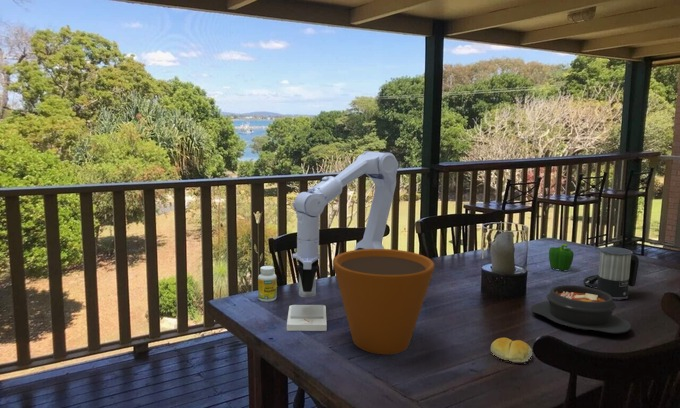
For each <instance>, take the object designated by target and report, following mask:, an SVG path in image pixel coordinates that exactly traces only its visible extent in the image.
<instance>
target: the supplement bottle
mask: <svg viewBox="0 0 680 408" xmlns="http://www.w3.org/2000/svg"><path fill="white" fill-rule="evenodd" d="M259 269H260V274H259V275H258V277H257V284H258V285H257V286H258V291H257V292H258V293H257V294H258V298H257V299H258V300H259V301H261V302H267V303H268V302H274V301H275V300H276V299H277V294H278V293H277V292H278V291H277V287H278V286H277V281H278V280H277V274H275V267H274V266H272V265H263V266H261V267H260V268H259Z"/></svg>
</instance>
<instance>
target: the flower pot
mask: <svg viewBox="0 0 680 408" xmlns="http://www.w3.org/2000/svg"><path fill="white" fill-rule="evenodd" d="M332 264H333V269H334V274H335V278H336V281H337V284H338V288H339V292H340V295H341V300H342V301H341V302H342V304H343V308H344V311H345V316H346V319H347V323H348V327H349V331H350V334H351V339H352V342H353V344H354V345H355V346H356V347H357V348H359V349H361V350H363V351H366V352H368V353H372V354H378V355H393V354H394V355H395V354H399V353H403V352H404V351H406V350H407V349H408V348H409V345H410V343H411V340H412V338H413V334H414V331H415V328H416V324H417V322H418V319H419V316H420V313H421V310H422V306H423V303H424V301H425V297H426V295H427V292H428V288H429V285H430V282H431V280H432V277H433V274H434V271H435V263H434V261H433V260H432V259H431V258H429V257H427V256H425V255H423V254H419V253H416V252H411V251H405V250H400V249H391V248H390V249H388V248H384V249H361V250H348V251H345V252H342V253H339V254H337V255H336V256H334V258H333V260H332ZM406 348H407V349H406ZM405 349H406V350H405Z"/></svg>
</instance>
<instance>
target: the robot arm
mask: <svg viewBox="0 0 680 408" xmlns="http://www.w3.org/2000/svg"><path fill="white" fill-rule="evenodd" d="M398 169H399V162H398V160H397V158H396V156H395V155H394V154H393V153H391V152H378V151H371V150H365V151H364V152H363V153H362V154H359V155H358V156H357V157H356V160H354V161H353V162H352V163H350V164H349V165H348V166H347V167H346V168H344V169H343V170H342V171H341V172H339V173H338V174H337V175H336V176H331V175H329V176H324V177H322V178H321V181H320V182H318V183H317V184H315V185H314V186H310V187H309V188H308V190H307V191H302V192H299V193H298V194H297V195H296V197H295V199H294V202H292V208H293V210H294V211H295V213H296V218H297V222H296V223H297V225H296V229H297V231H296V233H297V234H296V235H297V236H296V253H292V258H293V259H297V263H298V264H296V270H297V272H298V275H299V274H300V277H301V282H302V288H303V292H311V291H312V287H313V282H314V277H315V274H316V275H317V272H318V271H319V265H318V263H319V259H320V215H322V213H323V212H324V210H325V207H326V206H327V205H328V204H329V203H331V202H332V201H333V200H335V199H336V198H338V196H340V195H341V194H342V193H343V188H344V187H346V186H347V185H349V184H350V183H351V182H353V181H355V180H357V179H358V178H359V177H361V176H363V175H364V174H365V175H366V176H367V177H369V179H370V180H371V181H372V182H373V183H374V185H375V189H374V194H373V198H372V202H371V205H370V208H369V213H368V218H367V222H366V225H365V228H364V229H365V230H364V233H363V238H362V239H361V240H360V241H358V242H357V243H356V244H355V247H354V250H361V249H385V247H384V246H383V243H382V242H383V239H384V235H385V231H386V227H387V223H388V221H389V220H388V219H389V215H390V211H391V208H392V203H393V199H394V196H395V195H394V194H395V190H396V186H397V173H398Z"/></svg>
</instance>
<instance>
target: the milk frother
mask: <svg viewBox="0 0 680 408" xmlns="http://www.w3.org/2000/svg"><path fill="white" fill-rule="evenodd" d="M599 251H600V255H599V263H598V264H599V266H598V274H594V275H593V274H592V275H589V276H586V277H585V278H584V279H583V281H582V282H583V285H584V286H586V285H588V286H592V287H597V288H596V289H597V290H601V291H603V292H606V293H608V294H609V295H611V296H612V297H626V296H628V297H629V286H630V287H635V286H636V281H637V276H638V271H639V263H640V262H639V261H640V260H639V257H638V256H637V255H636V254H634V253H633V251H632V250H631V249H626V248H622V247H615V246H605V247H604V246H603V247H600V248H599ZM596 282H597V284H595V283H596ZM588 286H587V287H588Z"/></svg>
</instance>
